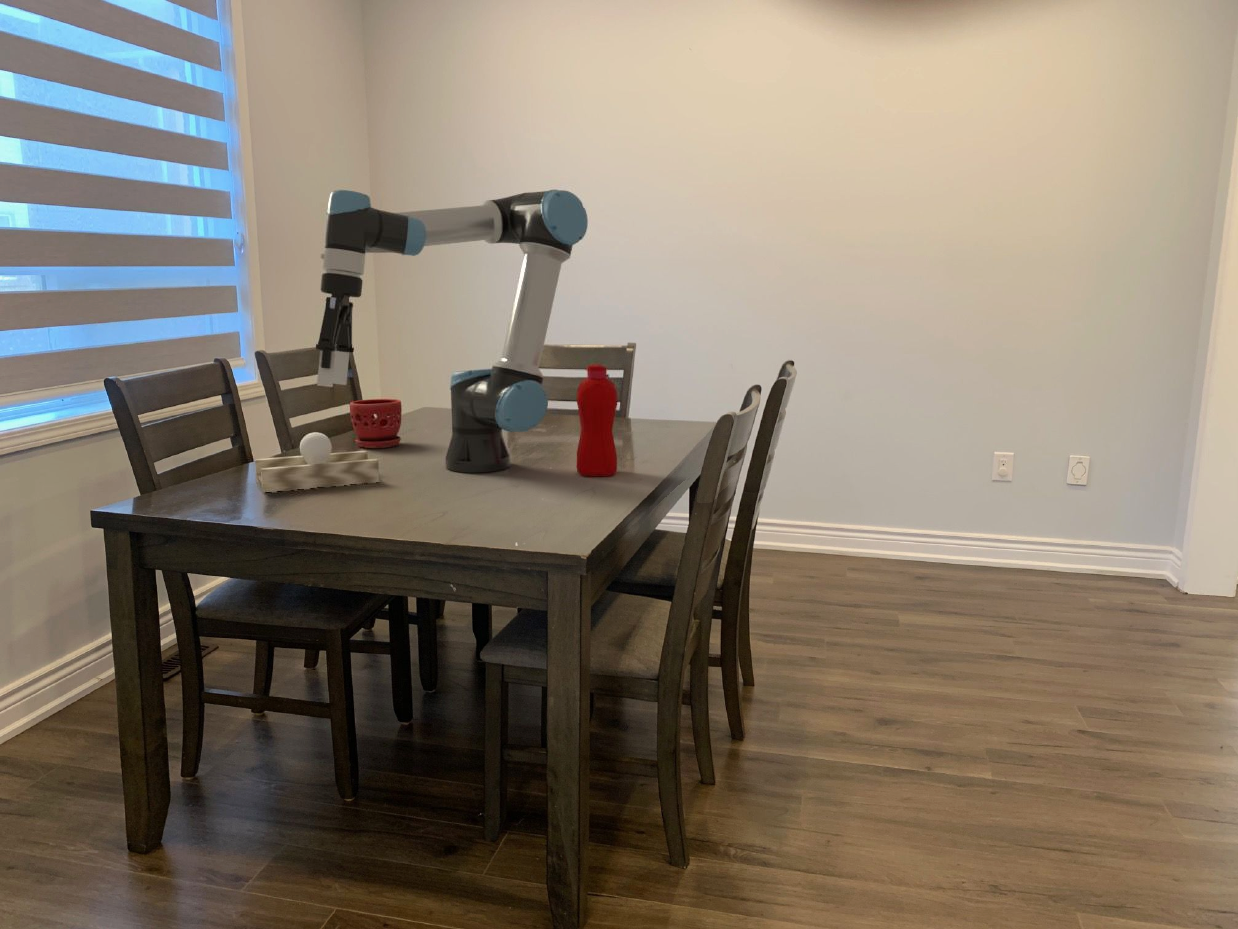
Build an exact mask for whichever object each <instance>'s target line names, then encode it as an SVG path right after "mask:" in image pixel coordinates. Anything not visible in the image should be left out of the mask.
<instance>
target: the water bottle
mask: <svg viewBox="0 0 1238 929" xmlns="http://www.w3.org/2000/svg"><path fill="white" fill-rule="evenodd" d="M585 371H587V374H586V375H587V378H585V379H584V380H582V381H581V382H580V384H579V386H578V387H577V390H576V391H577V392H576V404H577V409H578V416H579V421H580V428H581V429H580V434H579V440H578V444H577V445H578V446H577V450H576V472H577V473H578V474H579V475H580V476H583V477H611V476H614V475H615V474H616V473H617V471H618V455H617V449H616V442H615V438H614V432H613V428H614V422H615V416H616V412H617V407H618V392H619V394H620V398H621V400H622V406H623V408H625V406H624V405H625V404H624V401H623V396H622V394H621V391H620V390H618V391H617V389H618V387H617V386H616V384H615V383H614V382H613V381H612V380H611V379H610V374H607V373H608V372H607V366H604V365H601V364H597V363H596V364H590V365H587V368H586V369H585ZM623 411H624V412H623V413H624V414H623V420H622V421H620V420H619V419H618V417H616V419H617V421H618V422H619V423H622V422H624V420H625V415H626V414H625V410H623Z"/></svg>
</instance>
